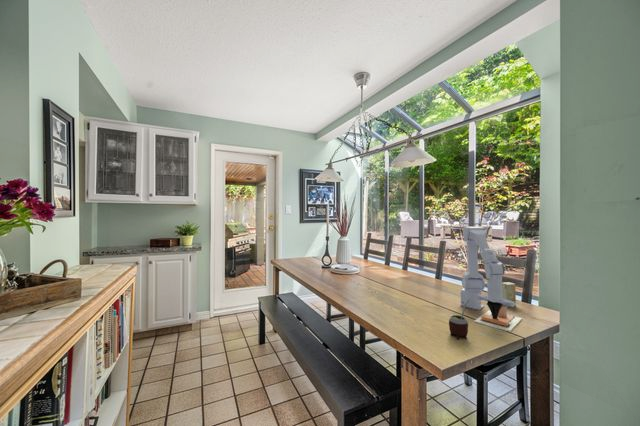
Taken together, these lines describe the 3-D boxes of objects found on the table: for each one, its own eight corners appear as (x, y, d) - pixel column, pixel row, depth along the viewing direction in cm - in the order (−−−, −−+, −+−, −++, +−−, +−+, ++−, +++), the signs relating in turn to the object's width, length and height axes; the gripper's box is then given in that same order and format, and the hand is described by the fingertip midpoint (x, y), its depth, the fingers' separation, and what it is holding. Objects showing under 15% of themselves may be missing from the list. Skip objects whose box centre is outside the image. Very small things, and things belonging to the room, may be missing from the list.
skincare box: (507, 307, 143) (507, 284, 143) (499, 304, 147) (499, 282, 147) (516, 305, 145) (516, 283, 145) (508, 303, 149) (508, 281, 149)
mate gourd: (448, 337, 109) (447, 301, 109) (450, 330, 116) (450, 296, 116) (468, 342, 105) (468, 304, 105) (470, 334, 112) (469, 299, 112)
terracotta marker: (495, 316, 129) (495, 302, 129) (498, 314, 132) (498, 300, 132) (505, 318, 126) (505, 304, 126) (508, 316, 129) (507, 302, 129)
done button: (481, 319, 125) (481, 316, 125) (484, 317, 127) (484, 314, 127) (506, 326, 117) (506, 322, 117) (509, 323, 120) (509, 320, 120)
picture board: (474, 322, 124) (474, 320, 124) (488, 311, 137) (488, 310, 137) (510, 332, 114) (510, 330, 114) (522, 319, 127) (522, 317, 127)
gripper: (474, 287, 125) (474, 316, 125) (511, 294, 114) (511, 325, 114) (479, 284, 130) (480, 312, 130) (515, 290, 119) (515, 321, 119)
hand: (495, 318), depth 122 cm, fingers closed, pressing on done button
